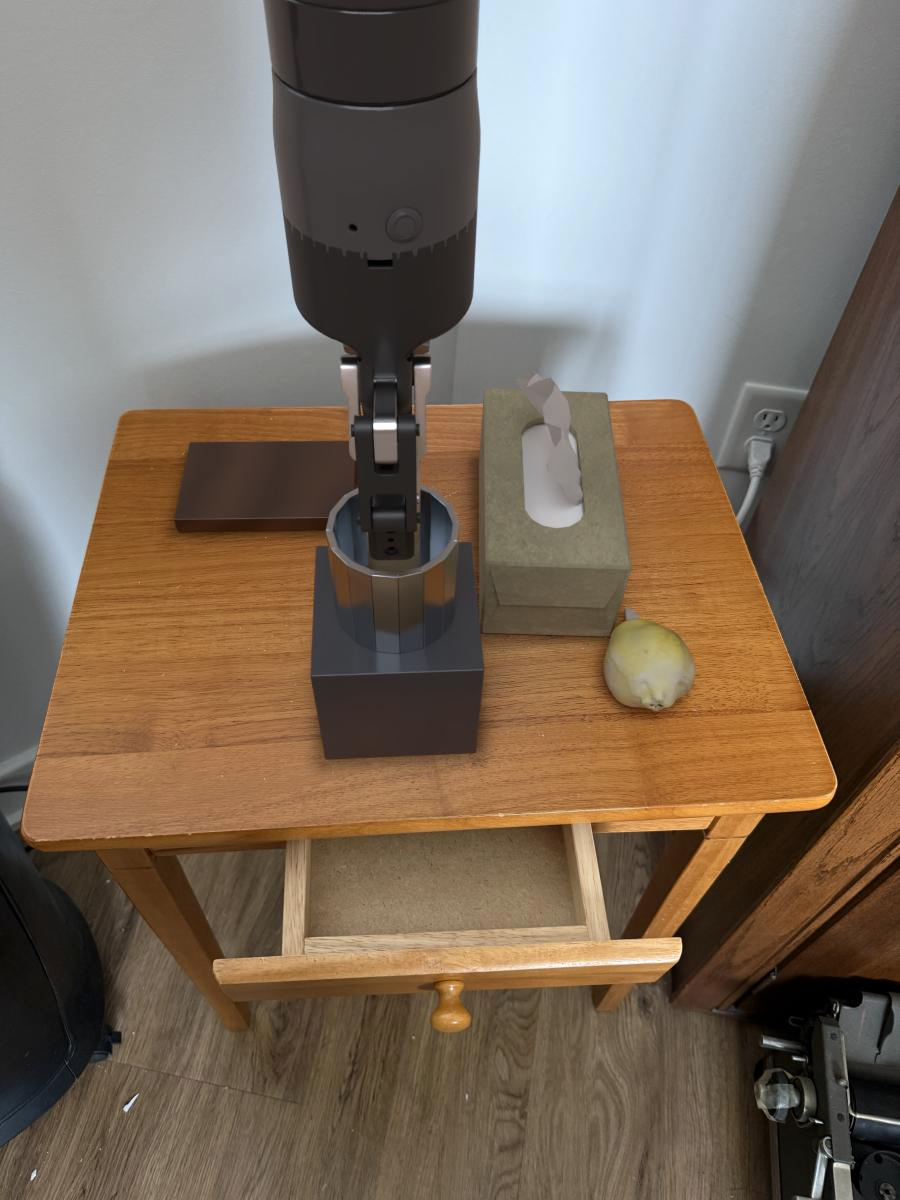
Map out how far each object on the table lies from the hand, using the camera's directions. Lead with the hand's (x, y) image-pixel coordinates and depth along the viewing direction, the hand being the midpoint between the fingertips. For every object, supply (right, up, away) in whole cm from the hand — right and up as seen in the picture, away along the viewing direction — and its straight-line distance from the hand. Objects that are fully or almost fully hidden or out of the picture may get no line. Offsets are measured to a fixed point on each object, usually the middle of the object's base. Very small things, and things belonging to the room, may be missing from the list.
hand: (392, 493), depth 47 cm
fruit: (+16, -11, +17) cm, 26 cm away
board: (-12, +3, +27) cm, 30 cm away
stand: (-1, -12, +15) cm, 20 cm away
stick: (0, -6, +7) cm, 9 cm away
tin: (0, -6, +8) cm, 10 cm away
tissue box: (+10, -1, +24) cm, 27 cm away
